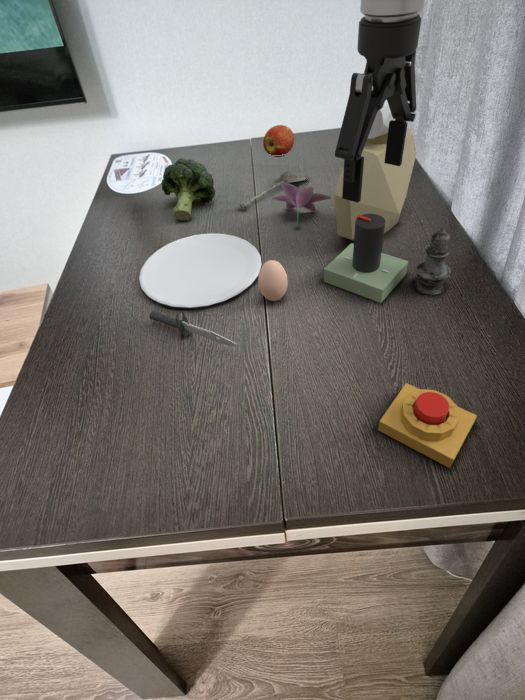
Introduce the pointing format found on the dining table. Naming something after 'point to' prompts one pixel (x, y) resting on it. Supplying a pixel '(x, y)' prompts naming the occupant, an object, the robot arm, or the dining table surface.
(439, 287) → the chess piece
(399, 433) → the button box
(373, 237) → the dial
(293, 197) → the lily
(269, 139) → the apple
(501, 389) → the dining table surface
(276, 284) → the egg
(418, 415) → the button
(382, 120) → the tan faceted bottle
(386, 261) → the dial panel
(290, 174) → the soupspoon
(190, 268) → the plate
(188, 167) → the vegetable
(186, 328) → the knife
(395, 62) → the robot arm
